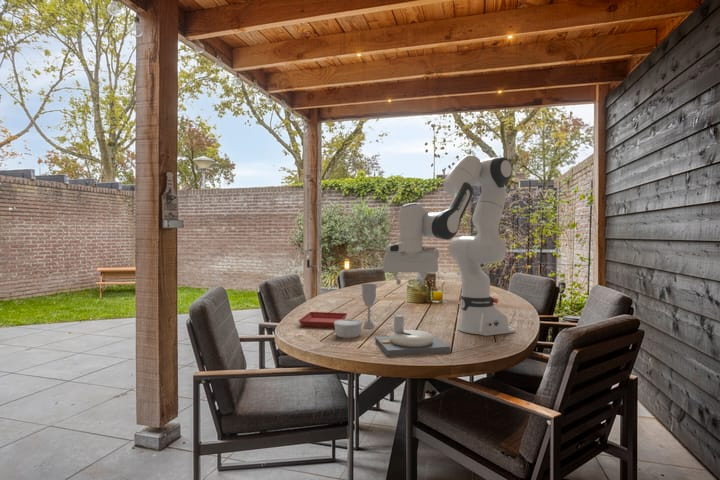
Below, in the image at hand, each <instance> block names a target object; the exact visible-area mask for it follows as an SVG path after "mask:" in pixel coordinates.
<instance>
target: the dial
mask: <svg viewBox="0 0 720 480" xmlns="http://www.w3.org/2000/svg"><path fill="white" fill-rule="evenodd" d="M433 335H434V334H432V333H431V332H427V331H423V330H416V329H405V316H404V315H403V314H395V315H394V316H393V331H392V332H391V333H390V334H389V336H390V341H391V342H392V343H393V344H396V345H400V346H407V347H421V346H427V345H430V344H432V343H433Z"/></svg>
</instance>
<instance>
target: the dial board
mask: <svg viewBox="0 0 720 480" xmlns="http://www.w3.org/2000/svg"><path fill="white" fill-rule="evenodd" d="M432 335H433V343H432V344H430V345H427V346H421V347H407V346H400V345H396V344H393V343H392V342H391V341H390V335H388V336H375V339H374V341H375V342H374V343H375V344H376V345H377V346H378V347H379V349H380V350H381V351H382V352H383V353H384V354H385V356H386V357H397V356H398V357H401V356H414V355H417V356H418V355H430V354H432V355H433V354H447V353H451V346H450V345H448V344H447V343H445V342H444V341H442V340H441V339H440V338H438V336H436V335H434V334H432Z"/></svg>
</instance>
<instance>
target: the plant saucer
mask: <svg viewBox="0 0 720 480" xmlns="http://www.w3.org/2000/svg"><path fill="white" fill-rule="evenodd" d="M346 317H348V313H346V312H345V313H344V312H326V311H325V312H324V311H309V312H308V313H307V314H305V315H304V316H302V317H301V318H299V319H298V323H300V324H301V326H303V327H311V328H312V327H313V328H332V329H335V325H334V322H335V321H337V320H342V319H345V318H346Z"/></svg>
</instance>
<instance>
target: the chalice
mask: <svg viewBox="0 0 720 480" xmlns="http://www.w3.org/2000/svg"><path fill="white" fill-rule="evenodd" d="M360 286H361V288H362V289H361V296H362V301H363V302H364V304H365V306H366V307H367V315H366V316H367V321H365V322H364V324H363V325H362V326H363V327H364V329H375V328H376V327H375V323H374V322H373V321H372V320H371V317H372V315H371V312H372V310H371V307H373V305H374V302H375V301H376V298H377V297H376V296H377V287H378V284H377V283H362V284H361V285H360ZM363 327H362V328H363Z"/></svg>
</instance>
